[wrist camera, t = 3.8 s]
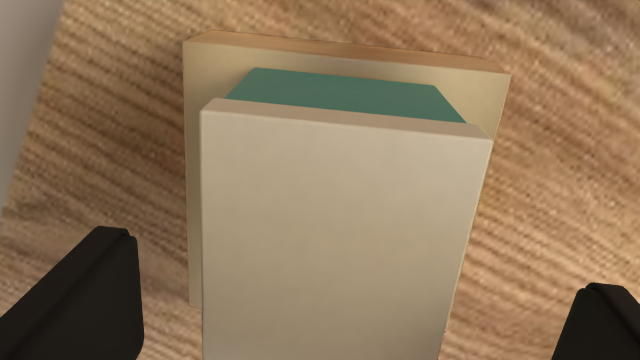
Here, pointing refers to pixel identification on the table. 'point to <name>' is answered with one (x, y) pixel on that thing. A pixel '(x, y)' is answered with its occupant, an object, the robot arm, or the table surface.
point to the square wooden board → (331, 59)
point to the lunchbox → (333, 217)
